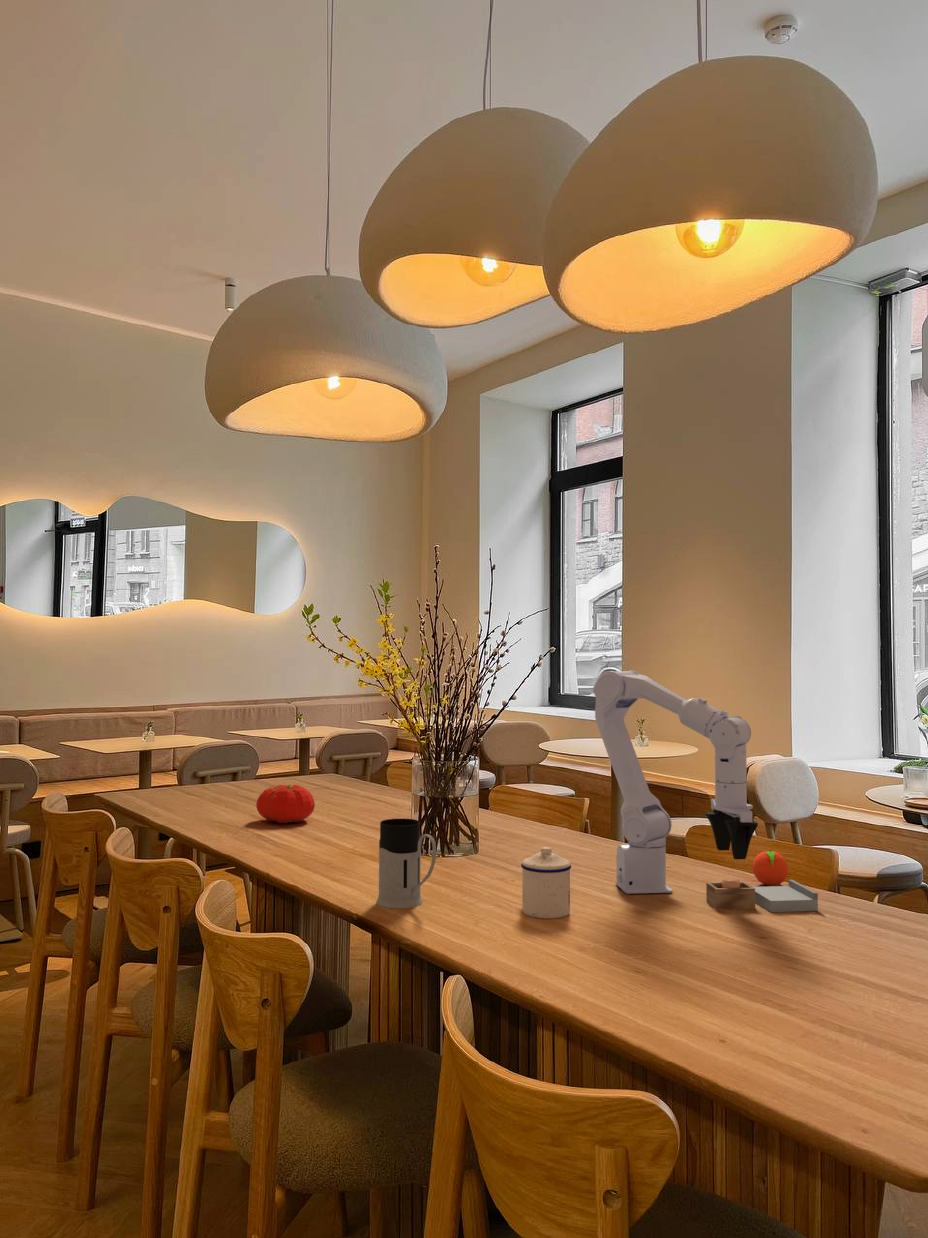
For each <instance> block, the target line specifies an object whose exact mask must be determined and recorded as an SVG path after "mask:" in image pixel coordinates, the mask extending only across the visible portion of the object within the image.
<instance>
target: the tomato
mask: <svg viewBox="0 0 928 1238" xmlns="http://www.w3.org/2000/svg"><path fill="white" fill-rule="evenodd" d="M255 805H256V811H257V812H258V814H259V815H260V816H261V817H263V818H264V819H265V820H267V821H269V822H271V821H276V823H278V822H279V823H278V824H281V823H284V824H289V823H292V822H297V823H300V822H301V821H303V820H306V819H307V818H309V817H310V816H311V815H312V813H313V812H314V810H315V806H316V804H315V799H314V797H313V794H311V792H310V791H309V790H308V789H306V788H305V787H303V786H300V785H297V784H293V785H291V784H288V785H287V784H279V785H276V786H273V787H269V788H266V789H264V790H263V791H262V792H261V793H260V794H259V795H258V798H257V799H256V804H255ZM299 821H300V822H299ZM288 822H289V823H288Z"/></svg>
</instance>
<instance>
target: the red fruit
mask: <svg viewBox="0 0 928 1238" xmlns="http://www.w3.org/2000/svg"><path fill="white" fill-rule="evenodd" d="M752 871H753V875H754V877H755V878H756V880H757V881H759V882H760V884H763V885H765V886H766V887H767V886H780V885H781V884H782V883H784V881H785V880H786V879H787V877H788V875H789V867H788V862H787V860H786V859H785V858H784V857H783V855H781V854H780V853H778V852H776V851H773V850H771V849H769V850H765V851H764V850H763V851H762V852H760V853H758V854H757V855H756V856H755V858H754V859H753V862H752Z"/></svg>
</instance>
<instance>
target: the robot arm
mask: <svg viewBox="0 0 928 1238" xmlns="http://www.w3.org/2000/svg"><path fill="white" fill-rule="evenodd" d="M592 691H593V694H594V696H595V707H594V708H595V711H594V718H595V722H596V725H597V728H598V731H599V733H600V736H601V739H602V742H603V745H604V748H605V750H606V753H607V756H608V759H609V761H610V764H611V767H612V770H613V773H614V775H615V779H616V780H617V783H618V787H619V789H620V793H621V795H622V798H623V803H622V806H621V809H620V814H621V818H622V825H621V826H622V832H623V833H622V834H623V836H624V837H625V839H626V840H627V841H628V843H626V844H619V845H617V848H616V882H615V885H616V886H617V887H619V889H621V890H622V891H623V892H624V893H625V894H627V895H628V894H629V895H631V894H632V895H633V894H635V895H636V894H638V895H639V894H668V893H669V894H671V893H673V892H674V891H673V889H672V888H670V887H669V886H668V885H667V883H666V881H667V880H666V879H667V876H666V875H667V873H666V872H667V869H666V867H667V863H666V861H667V860H666V859H667V858H666V857H667V856H666V855H667V854H666V851H667V850H666V845H667V844H666V841H667V839H666V837H668V835H670V832H671V831H672V827H673V826H672V825H673V823H672V819H671V817H670V815H669V814H668V812H667V811H666V810H665V809H664V808H663V806H662V804H661V801H660V800H659V798H657V797H656V796H655V795H654V794H653V793H652V792H651V791H650V789H649V786H648V783H647V780H646V778H645V774H644V773H643V770H642V767H641V764H640V761H639V758H638V756H637V753H636V750H635V747H634V745H633V742H632V740H631V736H630V734H629V732H628V731H629V730H628V729H627V725H626V723H625V717H626V715H627V714H628V711H629V709H630V708H631V707H632V706H633V705H634V704H635V703H636V702H637V701H638V700H639V699H645V700H647V701H649V702H651V703H653V704H655V705H657V706H658V707H659V706H660V707H661V708H663V709H665V710H668V711H670V712H672V713H674V714H676V715H677V716H678V718H679V722H680V723H681V724H682V725H683V726H685V727H686V728H688V729H690V730H692V731H694V732H696V733H697V734H700V735H702V736H704V737H706V738H707V739H709V740H710V742H711V744H712V745H713V747H714V790H715V792H714V794H715V795H714V796H715V797H714V798H711V800H710V802H711V803H710V805H711V806H710V807H711V808H710V809H711V810H712V811H708V812H705V814H706V815H705V816H706V818H707V819H708V821H709V824H710V827H711V829H712V833H713V836H714V840H715V845H716V848H717V851H730V847H731V852H732V857H733V859H734V860H746V859H747V856H748V853H749V852H748V851H749V846H750V843H751V840H752V837H753V835H754V833H755V831H756V830H757V828H758V825H759V823H758V822H757V821H754V820H753V811H752V810H753V807H754V805H752V804H750V803H748V801H747V800H748V796H747V795H748V794H747V792H748V791H747V789H748V788H747V786H748V785H747V784H748V783H747V780H748V779H747V775H748V774H747V767H748V766H747V744H748V743H749V741H750V740H751V736H752V729H751V727H750V725H749V723H748V722H747V721H746V720H745V719H743V718H742V717H741V716H738V715H736V716H735V715H734V716H729V712H728V711H727V710H725V709H724V710H719V709H718V708H715V707H714V706H712V705H710V704H708V700H707V699H705V698H703V697H700V698H697V697H693V698H690V699H685V698H684V697H682V696H680V695H678V694H677V693H675V692H673V691H672V690H670V689H669V688H666V687H665V686H663V685H662V684H660V683H658V682H656V681H655V680H654V679H651V678H650V677H648V676H647V675H644V674H640V673H638V672H637V671H636V670H626V671H624V670H623V671H622V670H620V671H613V670H606V671H604V672H602V673H601V674H600V675H599V676H598V678H597V679H596V682H595V684H594V685H593V688H592Z"/></svg>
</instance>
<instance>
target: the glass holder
mask: <svg viewBox="0 0 928 1238" xmlns="http://www.w3.org/2000/svg"><path fill="white" fill-rule="evenodd" d="M420 824H421V823H420V821H419V820H418V819H414V818H389V819H384V820H380V822H379V836H380V837H379V841H378V897H377V899H376V901H375V902H376V905H377V904H378V905H377V906H379V907H383V908H386V909H400V910H401V909H411V908H416V907H418V906H420V905H422V904H423V898H422V896H421V886H423V884H424V883H425V882H427V880H428V879H429V878H430V877H431V876H432V873H433V870H434V867H435V864H436V859H437V844H436V840H435V839H434V837H433V836H432V835H430V834H428V833H425V834H422V835H421V830H420V829H421V825H420ZM420 835H421V836H420ZM424 838H429V840H430V841H431V845H432V846H431V847H432V857H431V863H430V866H429V869H428V872H427V874H426V875H425V876H424V878H423V879H422V880H421V864H422V863H421V859H422V858H421V853H422V843H423V840H424Z"/></svg>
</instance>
